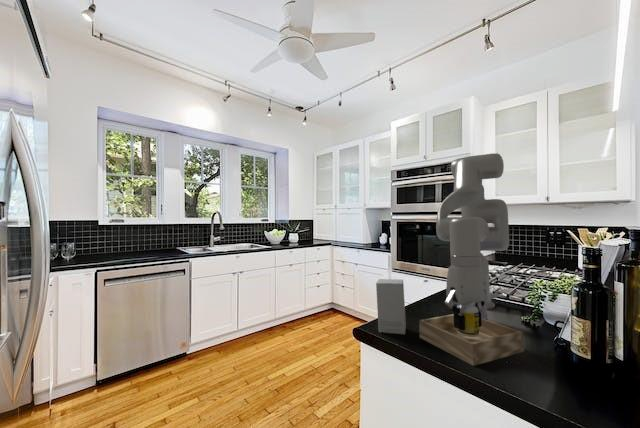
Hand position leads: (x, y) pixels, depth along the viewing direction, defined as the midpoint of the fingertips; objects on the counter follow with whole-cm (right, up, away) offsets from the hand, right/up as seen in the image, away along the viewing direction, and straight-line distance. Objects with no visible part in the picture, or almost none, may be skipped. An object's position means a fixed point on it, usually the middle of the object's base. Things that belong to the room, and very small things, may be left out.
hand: (467, 326), depth 78 cm
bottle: (+12, -5, +16) cm, 21 cm away
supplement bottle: (0, -2, 0) cm, 2 cm away
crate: (0, -5, 0) cm, 5 cm away
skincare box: (-18, -6, +11) cm, 22 cm away
